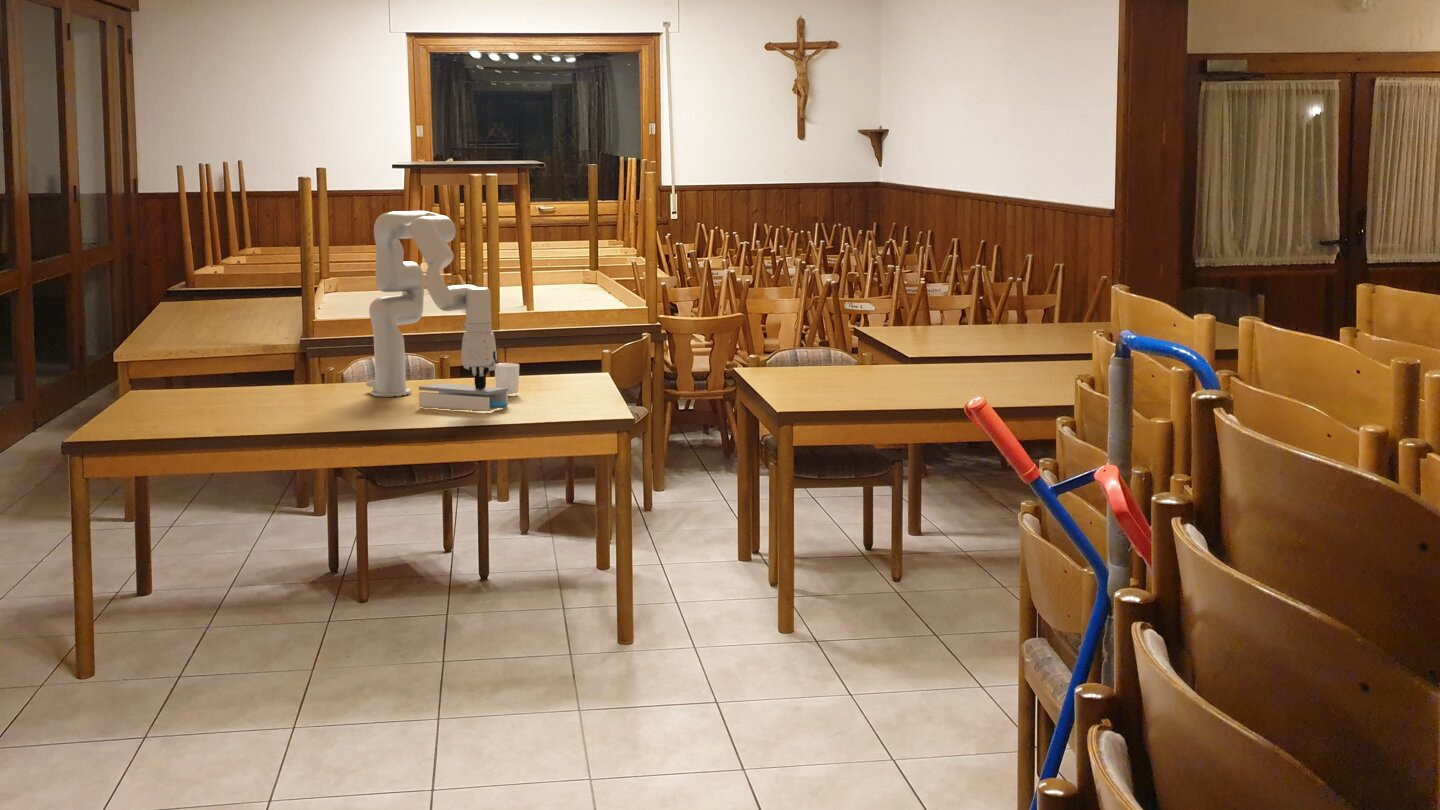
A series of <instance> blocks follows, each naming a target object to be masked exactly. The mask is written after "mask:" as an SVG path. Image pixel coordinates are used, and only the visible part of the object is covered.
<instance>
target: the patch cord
mask: <svg viewBox="0 0 1440 810" xmlns="http://www.w3.org/2000/svg"><path fill="white" fill-rule="evenodd" d="M489 403H490V407H497V408H505V409H507V408H506V407H507V403H506V402H504V401H491V400H489Z"/></svg>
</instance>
